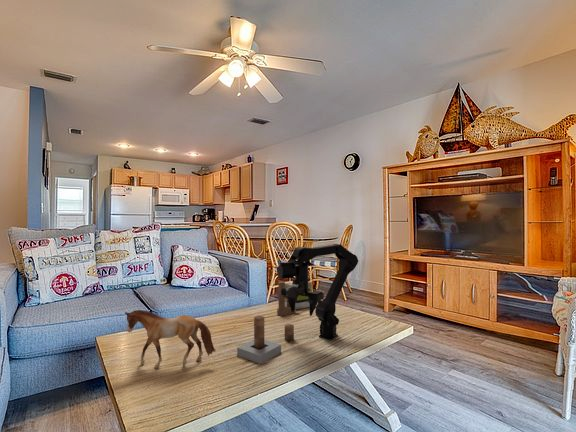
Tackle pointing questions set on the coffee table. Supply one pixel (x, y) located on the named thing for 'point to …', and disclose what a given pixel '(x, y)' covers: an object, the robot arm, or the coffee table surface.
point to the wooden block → (283, 302)
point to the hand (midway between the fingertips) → (301, 313)
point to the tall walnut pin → (259, 332)
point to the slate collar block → (259, 351)
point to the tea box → (300, 297)
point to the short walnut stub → (289, 332)
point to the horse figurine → (171, 332)
